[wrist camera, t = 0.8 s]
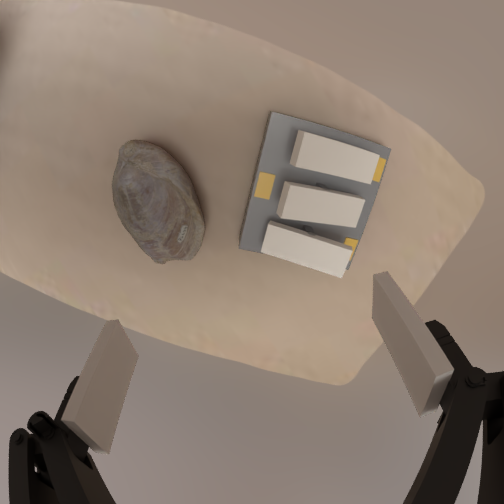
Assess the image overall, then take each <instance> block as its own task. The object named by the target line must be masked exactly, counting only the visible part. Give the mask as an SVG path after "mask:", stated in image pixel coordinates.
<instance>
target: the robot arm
mask: <svg viewBox="0 0 504 504" xmlns="http://www.w3.org/2000/svg"><path fill="white" fill-rule="evenodd" d="M372 319H373V321H374V323H375V325H376V326H377V328H378V330H379V332H380V334H381V336H382V338H383V340H384V342H385V344H386V346H387V348H388V350H389V352H390V354H391V356H392V358H393V360H394V362H395V365H396V367H397V369H398V371H399V373H400V375H401V377H402V379H403V381H404V383H405V386H406V388H407V390H408V392H409V394H410V397H411V399H412V401H413V403H414V405H415V408H416V410H417V412H418V415H419V417H420V418H421V417H423V416H426V415H429V414H431V413H433V412H436V410H437V408H438V406H439V404H440V405H441V407H442V409H443V412H442V415H441V416H440V418H439V420H438V422H437V423H438V426H437V429H436V432H435V434H434V437H433V439H432V442H431V444H430V447H429V449H428V452H427V454H426V457H425V459H424V461H423V463H422V466H421V468H420V470H419V473H418V475H417V477H416V479H415V481H414V483H413V485H412V487H411V489H410V491H409V493H408V495H407V497H406V499H405V500H404V503H403V504H454V503H455V500H456V498H457V496H458V494H459V491H460V488H461V486H462V483H463V481H464V478H465V475H466V472H467V469H468V466H469V463H470V460H471V457H472V454H473V451H474V447H475V444H476V440H477V437H478V433H479V429H480V425H481V421H482V420H483V449H482V467H481V478H480V487H479V495H478V502H477V504H504V371H502V372H495V373H486V372H484V371H483V370H482V369H480V368H477V367H473V366H472V365H471V364H470V362H469V361H468V359H467V358H466V356H465V355H464V353H463V352H462V350H461V349H460V347H459V346H458V345H457V343H456V342H455V340H454V339H453V337H452V336H450V333H449V332H448V330H447V329H446V327H445V326H444V325H442V324H441V323H439V322H438V321H436V320H433V321H430V322H426V323H424V322H423V320H422V319H421V317H420V316H419V315H418V313H417V312H416V310H415V309H414V307H413V306H412V304H411V303H410V302H409V300H408V299H407V297H406V296H405V295H404V293H403V292H402V290H401V289H400V288H399V286H398V285H397V284H396V282H395V281H394V280H393V278H392V277H391V276H390V274H389V273H388V272H382V273H378V274H374V275H373V306H372ZM137 360H138V354H137V352H136V351H135V349H134V347H133V345H132V343H131V342H130V340H129V338H128V336H127V335H126V333H125V331H124V329H123V327H122V325H121V324H120V322H119V320H110V321H107V322H106V324H105V325H104V327H103V329H102V331H101V333H100V335H99V337H98V339H97V341H96V343H95V345H94V347H93V349H92V352H91V353H90V355H89V357H88V360H87V362H86V364H85V366H84V368H83V370H82V372H81V375H80V376H76V377H75V379H74V380H73V381H72V382H71V383H70V385H69V387H68V389H67V393H66V394H65V396H64V400H63V401H62V403H61V405H60V407H59V410H58V412H57V414H56V417H55V419H54V420H53V419H52V418H51V417H50V416H49V415H48V414H47V413H45V412H44V411H38V412H36V413H34V414H33V415H32V416H31V417H30V419H29V421H28V424H27V428H28V429H29V430H30V431H31V432H32V433H33V434H29V433H28V432H27V431H26V430H25V429H23V428H19V429H17V430H15V431H14V432H13V433H12V435H11V437H10V443H9V501H10V504H116V503H115V501H114V500H113V498H112V496H111V494H110V493H109V491H108V489H107V487H106V485H105V483H104V481H103V479H102V478H101V475H100V473H99V471H98V469H97V468H96V466H95V463H94V461H93V459H92V457H91V455H90V454H89V453H88V452H87V451H88V448H89V447H90V448H91V449H92V450H93V451H95V452H96V453H101V454H109V452H110V449H111V445H112V441H113V438H114V434H115V431H116V427H117V424H118V420H119V417H120V413H121V410H122V407H123V403H124V400H125V397H126V393H127V390H128V387H129V384H130V381H131V378H132V375H133V372H134V368H135V366H136V363H137ZM35 467H37V472H35Z"/></svg>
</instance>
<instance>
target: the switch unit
mask: <svg viewBox="0 0 504 504" xmlns="http://www.w3.org/2000/svg"><path fill="white" fill-rule="evenodd" d="M298 130H301V131H305V132H308V133H312V134H316V135H319V136H323V137H326V138H330V139H333V140H336V141H340V142H343V143H346V144H349V145H352V146H355V147H358V148H361V149H364V150H367V151H370V152H373V153H376V154H378V155H380V157H379V160H378V163H377V166H376V169H375V173H374V176H373V179H372V182H371V184H367V183H363V182H359V181H355V180H351V179H347V178H343V177H339V176H334V175H330V174H326V173H321V172H317V171H312V170H308V169H303V168H298V167H295V166H293V165H291V164H290V160H291V156H292V152H293V149H294V145H295V141H296V137H297V134H298ZM390 151H391V149H390V148H387V147H385V146H382V145H380V144H377V143H374V142H371V141H369V140H366V139H363V138H360V137H357V136H354V135H352V134H349V133H346V132H343V131H339V130H336V129H333V128H330V127H327V126H323V125H320V124H317V123H313V122H310V121H306V120H303V119H299V118H295V117H292V116H288V115H284V114H280V113H276V112H272V111H270V112H269V116H268V120H267V124H266V128H265V132H264V137H263V141H262V145H261V149H260V153H259V157H258V161H257V165H256V169H255V173H254V178H253V182H252V186H251V190H250V194H249V198H248V203H247V207H246V211H245V215H244V220H243V224H242V228H241V232H240V237H239V249H243V250H248V251H254V252H259V253H262V252H261V249H262V245H263V241H264V238H265V234H266V230H267V227H268V223H269V222H270V220H271V221H274V222H277V223H281V224H284V225H287V226H290V227H293V228H297V229H300V230H303V231H306V232H312V233H314V234H315V235H318V236H321V237H324V238H328V239H331V240H334V241H337V242H340V243H343V244H346V245H349V246H352V250H353V252H352V254H351V257H350V259H349V262H348V264H347V267H346V269H347V270H348V269H349V267H350V264H351V262H352V259H353V257H354V254H355V252H356V249H357V247H358V244H359V241H360V239H361V236H362V234H363V231H364V228H365V226H366V223H367V220H368V217H369V215H370V212H371V209H372V206H373V203H374V201H375V198H376V195H377V192H378V189H379V186H380V183H381V180H382V177H383V174H384V171H385V167H386V164H387V161H388V158H389V154H390ZM285 181H288V182H293V183H299V184H304V185H310V186H315V187H320V188H322V187H323V188H327V189H330V190H335V191H340V192H345V193H349V194H354V195H359V196H360V197H362V198H364V199H365V203H364V206H363V208H362V211H361V214H360V217H359V220H358V223H357V225H356V228H354V227H346V226H339V225H331V224H324V223H316V222H308V221H300V220H292V219H283V218H280V217H279V216H278V215H277V213H276V212H277V208H278V204H279V201H280V197H281V193H282V190H283V186H284V182H285ZM264 254H265V253H264Z"/></svg>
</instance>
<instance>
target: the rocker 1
mask: <svg viewBox="0 0 504 504" xmlns="http://www.w3.org/2000/svg"><path fill="white" fill-rule="evenodd" d="M379 157H380V155H378V154H376V153H373V152H370V151H367V150H364V149H361V148H358V147H355V146H352V145H349V144H346V143H343V142H340V141H336V140H333V139H330V138H326V137H323V136H319V135H316V134H312V133H308V132H305V131H301V130H298V134H297V137H296V141H295V145H294V149H293V152H292V156H291V160H290V164H291V165H293V166H295V167H298V168H303V169H308V170H312V171H317V172H321V173H326V174H330V175H334V176H339V177H343V178H347V179H351V180H355V181H359V182H363V183H367V184H371V182H372V179H373V176H374V173H375V169H376V166H377V163H378V160H379Z"/></svg>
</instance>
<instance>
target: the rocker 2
mask: <svg viewBox="0 0 504 504" xmlns="http://www.w3.org/2000/svg"><path fill="white" fill-rule="evenodd" d="M364 203H365V199H364V198H362V197H360V196H359V195H354V194H349V193H345V192H340V191H335V190H330V189H327V188H323V187H322V188H320V187H315V186H310V185H304V184H299V183H293V182H288V181H285V182H284V186H283V190H282V193H281V197H280V201H279V204H278V208H277V212H276V213H277V215H278V216H279V217H280V218H283V219H292V220H300V221H308V222H316V223H324V224H331V225H339V226H346V227H354V228H356V225H357V223H358V220H359V217H360V214H361V211H362V208H363V206H364Z"/></svg>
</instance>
